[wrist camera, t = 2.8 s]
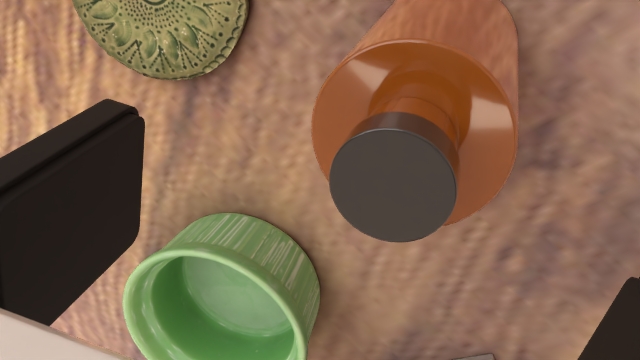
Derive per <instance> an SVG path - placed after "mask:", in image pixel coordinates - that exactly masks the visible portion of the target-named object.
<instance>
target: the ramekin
mask: <svg viewBox="0 0 640 360" xmlns="http://www.w3.org/2000/svg"><path fill="white" fill-rule="evenodd" d="M319 305H320V287H319V282H318V278H317V275H316V272H315V269H314V267H313V265H312V263H311V261H310V259H309V258H308V256H307V255H306V253H305V252H304V251H303V250H302V249H301V247H300V246H299V245H298V244H297V243H296V242H295V241H294V240H293V239H292V238H291V237H290V236H288V235H287V234H285V233H284V232H283V231H281V230H280V229H278V228H277V227H275V226H273V225H272V224H270V223H268V222H265V221H263V220H261V219H258V218H255V217H252V216H248V215H243V214H239V213H218V214H212V215H208V216H205V217H203V218H200V219H198V220H196V221H195V222H193V223H191V224H190V225H189V226H187V227H186V228H185V229H184V230H182V231H181V232H180V233H179V234H178V235H177V236H176V237H175V238H174V239H172V240H171V241H170V242H169V243H168V244H167V245H166V246H165V247H164V248H163V249H161V250H159V251H157V252H155V253H154V254H152V255H151V256H149V257H148V258H146V259H145V260H144V261H143V262H142V263H140V264H139V265H138V266H137V267H136V268H135V270H134V271H133V272H132V274H131V275H130V277H129V279H128V281H127V283H126V285H125V289H124V293H123V313H124V317H125V321H126V325H127V328H128V330H129V332H130V334H131V336H132V338H133V340H134V342H135V344H136V345H137V347H138V348H139V350H140V351H141V352H142V354H143V355H144V356H145V357H146V359H147V360H307V354H308V342H309V339H310V336H311V333H312V330H313V327H314V324H315V320H316V317H317V314H318V310H319Z"/></svg>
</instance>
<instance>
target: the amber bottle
mask: <svg viewBox="0 0 640 360" xmlns="http://www.w3.org/2000/svg"><path fill="white" fill-rule="evenodd" d="M312 141H313V147H314V151H315V154H316V158H317V161H318V163H319V165H320V168H321V170H322V172H323V173H324V175H325V177H326V179H327V180H328V182H329V186H330V192H331V195H332V198H333V201H334V203H335V205H336V207H337V209H338V210H339V212H340V213H341V214H342V216H343V217H344V218H345V219H346V220H347V221H348V222H349V223H350V224H351V225H352V226H353V227H355V228H356V229H358V230H359V231H361V232H362V233H364V234H366V235H368V236H371V237H373V238H376V239H379V240H383V241H388V242H410V241H415V240H418V239H422V238H424V237H426V236H429V235H430V234H432V233H434V232H435V231H437V230H438V229H439V228H440V227H442V226H446V225H449V224H453V223H456V222H458V221H461V220H463V219H465V218H468V217H469V216H471V215H473V214H474V213H476V212H478V211H479V210H481V209H482V208H483V207H484V206H486V205H487V204H488V203H489V202H490V201H491V200H492V199H493V198H494V197H495V196H496V195H497V194H498V193H499V192H500V190H501V189H502V187H503V186H504V185H505V183H506V181H507V179H508V177H509V175H510V174H511V171H512V168H513V166H514V163H515V160H516V154H517V149H518V37H517V31H516V28H515V24H514V22H513V19H512V17H511V15H510V13H509V12H508V10H507V8H506V7H505V6H504V4H503V3H502V2H501V1H500V0H396V1H395V2H394V3H393V4H392V5H391V6H390V7H389V9H388V10H387V11H386V12H385V13H384V14H383V15H382V16H381V18H380V19H379V20H378V21H377V22H376V23H375V24H374V25H373V27H372V28H371V29H370V30H369V31H368V32H367V33H366V34H365V36H364V37H363V38H362V39H361V40H360V41H359V42H358V43H357V45H356V46H355V47H354V48H353V49H352V50H351V51H350V52H349V53H348V55H347V56H346V57H345V58H344V59H343V60H342V61H341V62H340V64H339V65H338V66H337V67H336V68H335V69H334V70H333V72H332V73H331V74H330V75H329V76H328V78H327V79H326V81H325V83H324V84H323V86H322V87H321V90H320V92H319V94H318V96H317V99H316V102H315V106H314V109H313V115H312Z"/></svg>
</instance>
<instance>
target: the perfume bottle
mask: <svg viewBox="0 0 640 360" xmlns="http://www.w3.org/2000/svg"><path fill="white" fill-rule="evenodd" d="M455 360H495V358H494V356H493V354H486V355H480V356H474V357H467V358H461V359H455Z"/></svg>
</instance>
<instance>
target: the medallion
mask: <svg viewBox="0 0 640 360" xmlns="http://www.w3.org/2000/svg"><path fill="white" fill-rule="evenodd" d="M72 1H73V4H74V7H75V9H76V11H77V13H78V15H79V18H80V20H81V21H82V22H83V24H84V26H85V28H86V30H87V31H88V32H89V34H90V35H91V36H92V38H93V39H94V40H95V41H96V42H97V43H98V44H99V46H100V47H102V48H103V49H104V50H105V51H106V52H107V54H108V55H109V56H112V57H114V58H115V59H116V60H117V61H119V62H120V63H122V64H124V65H125V66H127V67H128V68H130V69H133V70H135V71H137V72H138V73H141V74H143V75H144V76H147V77H151V78H157V79H162V80H181V79H185V80H188V79H192V78H194V77H197V76H201V75H204V74H206V73H208V72H210V71H212V70H213V69H215V68H217V66H219V65H220V64H222V63H223V62H224V61H225V60H226V58H227V57H228V56H229V54H230V53H231V51H232V50H233V48H234V46H235V45H236V43H237V42H238V40H239V37H240V35H241V33H242V30H243V28H244V26H245V22H246V20H247V16H248V12H249V3H248V0H72Z"/></svg>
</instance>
